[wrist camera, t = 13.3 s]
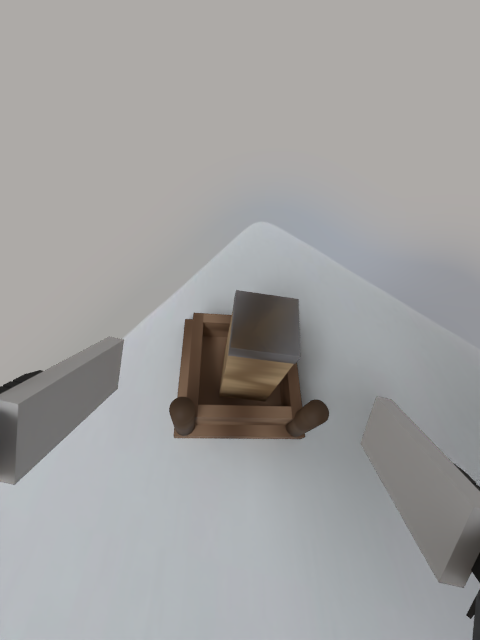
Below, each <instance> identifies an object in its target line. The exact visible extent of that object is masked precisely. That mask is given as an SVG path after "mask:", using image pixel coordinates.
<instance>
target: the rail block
mask: <svg viewBox="0 0 480 640" xmlns="http://www.w3.org/2000/svg"><path fill="white" fill-rule="evenodd" d="M299 358H300V327H299V299H294V298H287V297H280V296H273V295H266V294H259V293H252V292H245V291H238V290H236V293H235V298H234V306H233V312H232V317H231V322H230V327H229V332H228V337H227V342H226V347H225V352H224V359H223V367H222V376H221V384H220V393H219V396H220V397H229V398H238V399H246V400H255V401H263V402H265V401H266V400H267V398H268V397H269V396H270V395H271V393H272V392H273V391H274V389H275V388H276V387H277V385H278V384H279V383H280V381H281V380H282V379H283V378H284V376H285V375H286V374H287V372H288V371H289V370H290V368H291V367H292V366H293V364H296V362H297V361H298V360H299Z"/></svg>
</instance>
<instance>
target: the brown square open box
mask: <svg viewBox="0 0 480 640" xmlns="http://www.w3.org/2000/svg"><path fill="white" fill-rule="evenodd" d="M231 317H232V315H222V314H205V313H194V315H193V320H192V319H185V327H184V337H183V347H182V357H181V367H180V377H179V387H178V397H177V398H176V399H175V400H174V401H173V402H172V403H171V405H170V408H169V412H170V416H171V419H172V421H173V424H174V427H175V428H174V438H236V439H302V438H304V437H305V433H306V432H308V431H310V430H311V429H313V428H315V427H317V426H319V425H321V424H323V423H324V422H326V421H327V419H328V417H329V411H328V408H327V406H326V405H325V404H324V403H323V402H322V401H320V400H312V401H310V402H309V403H307V404H306V405H305V406H304V407H302V401H301V393H300V385H299V377H298V368H297V362H296V364H293V366H292V367H291V368H290V370H289V371H288V372H287V374H286V375H285V376H284V378H283V379H282V380H281V381H280V383H279V384H278V385H277V387H276V388H275V389H274V391H273V392H272V393H271V395H270V396H269V397H268V398H267V400H266V401H265V402H263V401H255V400H246V399H238V398H229V397H220V396H219V393H220V384H221V376H222V367H223V359H224V352H225V347H226V342H227V337H228V332H229V327H230V322H231Z"/></svg>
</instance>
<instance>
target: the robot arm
mask: <svg viewBox="0 0 480 640" xmlns="http://www.w3.org/2000/svg"><path fill="white" fill-rule="evenodd" d="M123 343H124V340H122V339H118V338H113V337H107V338H106V339H104V340H102V341H100V342H98V343H96V344H94V345H92V346H90V347H89V348H87V349H85V350H83V351H81V352H79V353H77V354H75V355H73V356H72V357H70V358H68V359H66V360H64V361H62V362H60V363H58V364H56V365H54V366H53V367H51V368H49V369H47V370H45V371H41V370H39V371H35V372H32V373H28V374H24V375H22V376H20V377H19V378H16V379H14V380H13V382H9V383H7V384H4V385H3V387H2V386H1V387H0V482H4V483H8V484H12V485H15V484H16V483H17V482H18V481H19V480H20V479H21V478H22V477H23V476H25V475H26V474H27V473H28V472H29V471H30V470H31V469H32V468H33V467H34V466H35V465H36V464H37V463H38V462H40V461H41V460H42V459H43V458H44V457H45V456H46V455H47V454H48V453H49V452H50V451H51V450H52V449H53V448H55V447H56V446H57V445H58V444H59V443H60V442H61V441H62V440H63V439H64V438H65V437H66V436H67V435H68V434H70V433H71V432H72V431H73V430H74V429H75V428H76V427H77V426H78V425H79V424H80V423H81V422H82V421H83V420H84V419H86V418H87V417H88V416H89V415H90V414H91V413H92V412H93V411H94V410H95V409H96V408H97V407H98V406H99V405H101V404H102V403H103V402H104V401H105V400H106V399H107V398H108V397H109V396H110V395H111V394H112V393H113V392H114V391H116V390H117V389H118V381H119V373H120V366H121V358H122V350H123ZM360 444H361V445H362V447H363V449H364V451H365V453H366V454H367V456H368V458H369V460H370V461H371V463H372V465H373V467H374V469H375V470H376V472H377V474H378V476H379V477H380V479H381V481H382V483H383V484H384V486H385V488H386V490H387V492H388V493H389V495H390V497H391V499H392V500H393V502H394V504H395V506H396V508H397V509H398V511H399V513H400V515H401V516H402V518H403V520H404V522H405V524H406V525H407V527H408V529H409V531H410V532H411V534H412V536H413V538H414V539H415V541H416V543H417V545H418V547H419V548H420V550H421V552H422V554H423V555H424V557H425V559H426V561H427V563H428V564H429V566H430V568H431V570H432V571H433V573H434V575H435V577H436V578H437V580H438V582H440V583H445V584H449V585H453V586H458V587H462V588H464V586H465V584H466V582H467V580H468V578H469V576H470V574H471V572H473V574H474V575H475V577H476V578H477V579H478V581H479V582H480V487H479V486H478V485H476V483H475V482H474V481H473V480H472V479H471V477H470V476H469V475H468V474H467V473H466V472H464V471H463V470H462V469H460V468H459V467H458V466H456V465H455V464H453V463H452V462H451V461H450V460H449V459H448V458H447V457H446V456H445V455H444V454H443V453H442V452H441V451H440V449H439V448H438V447H437V446H436V445H435V444H434V443H433V442H432V441H431V440H430V439H429V438H428V437H427V436H426V435H425V434H424V433H423V432H422V431H421V430H420V429H419V428H418V427H417V426H416V425H415V423H414V422H413V421H412V420H411V419H410V418H409V417H408V416H407V415H406V414H405V413H404V412H403V411H402V410H401V409H400V408H399V407H398V406H397V405H396V404H395V403H394V402H393V401H392V400H391V399H387V398H382V397H378V396H377V397H376V399H375V402H374V405H373V408H372V411H371V414H370V417H369V420H368V422H367V425H366V428H365V431H364V434H363V437H362V440H361V443H360ZM473 615H475V617H474V628H473V639H472V640H480V590H479V592H478V594H477V596H476V597H475V599H474V601H473V603H472V605H471V607H470V609H469V611H468V613H467V616H468V617H469V618H470V619H471V618H472V617H473Z"/></svg>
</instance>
